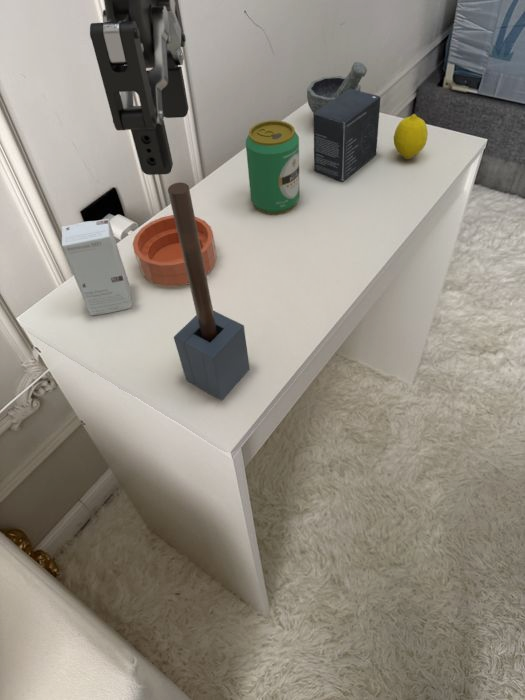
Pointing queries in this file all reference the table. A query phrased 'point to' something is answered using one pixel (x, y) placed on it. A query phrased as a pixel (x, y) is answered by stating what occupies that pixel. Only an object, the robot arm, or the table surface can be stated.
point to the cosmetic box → (97, 266)
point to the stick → (193, 258)
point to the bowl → (169, 251)
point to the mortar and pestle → (334, 87)
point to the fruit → (410, 136)
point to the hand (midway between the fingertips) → (167, 142)
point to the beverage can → (273, 166)
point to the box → (346, 133)
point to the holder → (213, 355)
